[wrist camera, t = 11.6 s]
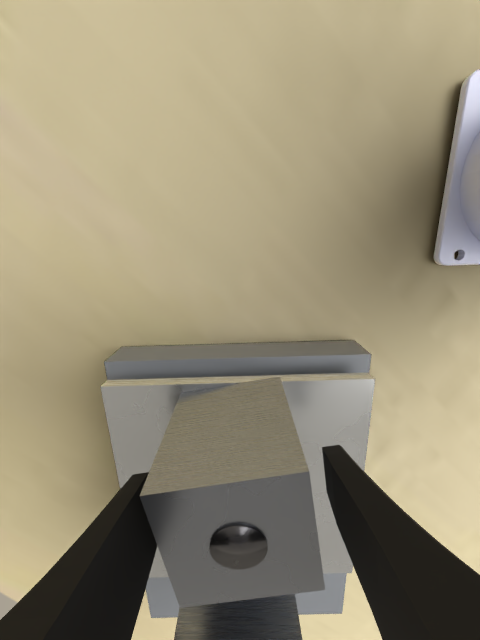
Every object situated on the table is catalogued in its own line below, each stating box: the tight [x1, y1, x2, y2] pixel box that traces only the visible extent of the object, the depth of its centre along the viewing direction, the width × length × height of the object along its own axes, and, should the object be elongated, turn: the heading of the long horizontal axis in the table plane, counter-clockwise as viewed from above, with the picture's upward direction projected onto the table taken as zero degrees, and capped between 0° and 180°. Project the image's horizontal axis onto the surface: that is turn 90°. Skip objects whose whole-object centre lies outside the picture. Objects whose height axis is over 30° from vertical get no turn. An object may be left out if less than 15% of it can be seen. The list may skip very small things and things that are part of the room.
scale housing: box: [104, 340, 371, 618], centre depth 16 cm, size 13×19×2 cm
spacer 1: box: [140, 376, 325, 608], centre depth 10 cm, size 4×4×5 cm
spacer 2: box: [174, 594, 302, 640], centre depth 12 cm, size 4×4×5 cm
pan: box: [100, 373, 375, 578], centre depth 14 cm, size 12×12×3 cm
